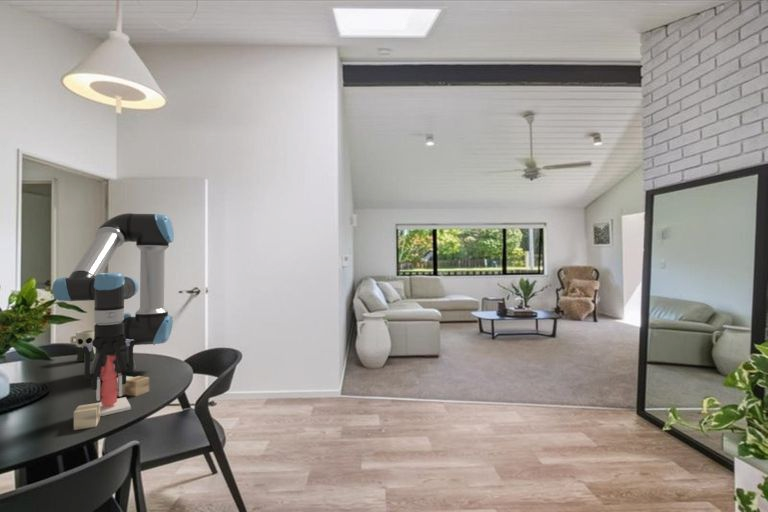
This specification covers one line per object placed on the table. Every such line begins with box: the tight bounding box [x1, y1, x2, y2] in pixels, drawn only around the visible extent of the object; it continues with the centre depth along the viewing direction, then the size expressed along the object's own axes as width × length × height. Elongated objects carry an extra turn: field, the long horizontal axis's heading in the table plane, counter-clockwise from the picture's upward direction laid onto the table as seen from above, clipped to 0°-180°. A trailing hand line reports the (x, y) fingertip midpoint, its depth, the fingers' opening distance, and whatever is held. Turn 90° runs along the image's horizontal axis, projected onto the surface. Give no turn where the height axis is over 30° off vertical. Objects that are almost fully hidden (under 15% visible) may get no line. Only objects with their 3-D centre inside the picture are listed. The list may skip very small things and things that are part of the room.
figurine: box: [100, 355, 119, 405], centre depth 118 cm, size 5×5×15 cm
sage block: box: [116, 375, 134, 397], centre depth 132 cm, size 5×5×5 cm
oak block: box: [124, 375, 150, 397], centre depth 132 cm, size 5×5×5 cm
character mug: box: [69, 329, 95, 362], centre depth 170 cm, size 11×7×13 cm, turn 119°
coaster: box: [98, 396, 132, 417], centre depth 118 cm, size 10×10×1 cm
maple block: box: [73, 402, 101, 431], centre depth 108 cm, size 5×5×5 cm
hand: (109, 397), depth 118 cm, fingers closed on figurine, 5 cm apart
